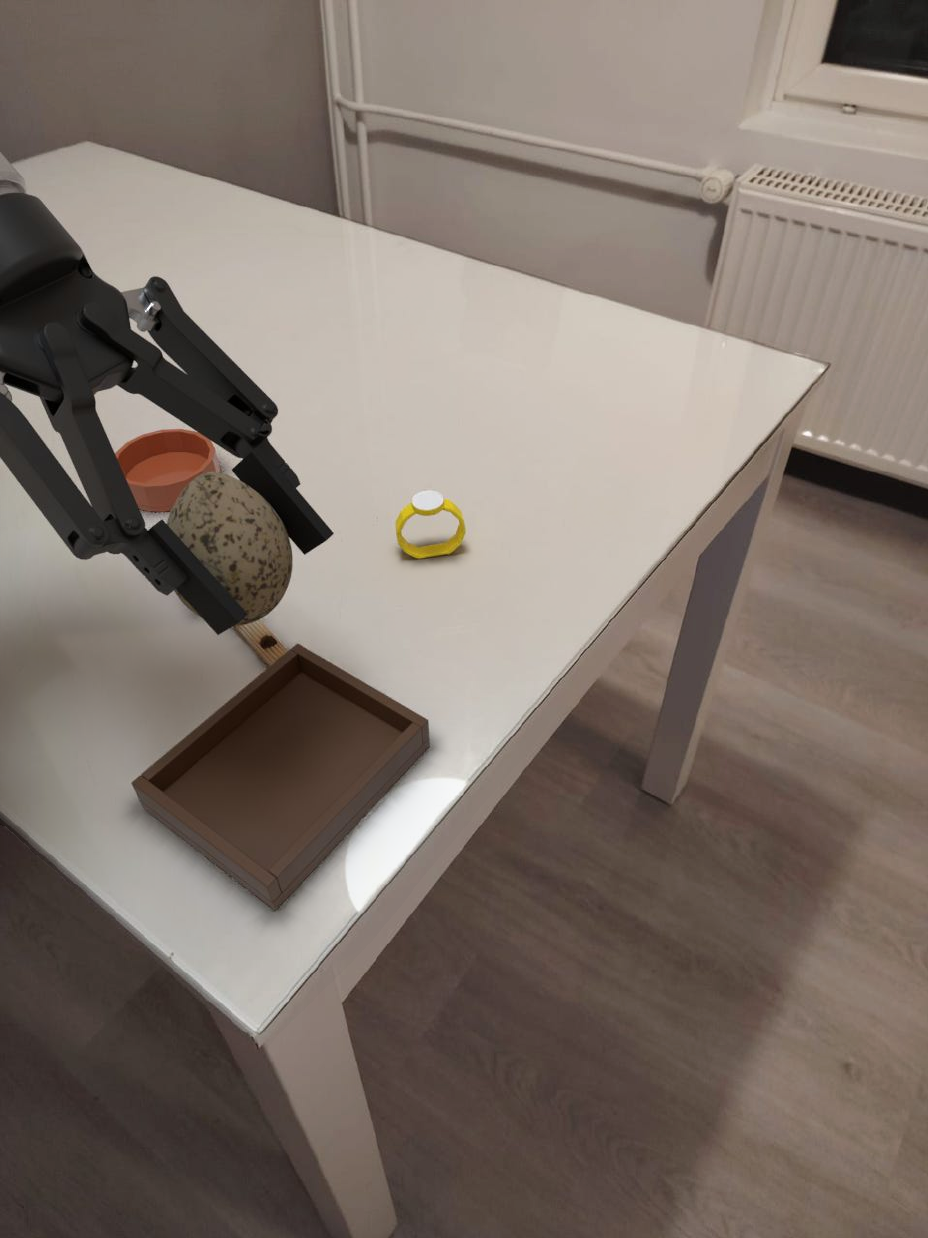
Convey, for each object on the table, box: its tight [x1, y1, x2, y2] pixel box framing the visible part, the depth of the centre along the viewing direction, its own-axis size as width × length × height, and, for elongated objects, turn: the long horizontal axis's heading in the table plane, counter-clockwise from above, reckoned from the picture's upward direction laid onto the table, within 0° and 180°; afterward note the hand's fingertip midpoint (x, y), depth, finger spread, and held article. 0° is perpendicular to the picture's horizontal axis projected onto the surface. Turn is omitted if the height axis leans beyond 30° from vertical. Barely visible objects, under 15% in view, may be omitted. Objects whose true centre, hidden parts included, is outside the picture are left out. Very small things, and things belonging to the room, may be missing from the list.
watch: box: [395, 489, 467, 560], centre depth 75 cm, size 6×3×6 cm, turn 100°
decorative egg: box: [166, 472, 294, 627], centre depth 50 cm, size 7×7×10 cm
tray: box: [131, 643, 431, 911], centre depth 60 cm, size 16×13×3 cm
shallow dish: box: [114, 428, 221, 513], centre depth 84 cm, size 10×10×3 cm
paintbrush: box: [234, 619, 289, 667], centre depth 72 cm, size 4×3×20 cm
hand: (277, 582), depth 49 cm, fingers closed on decorative egg, 7 cm apart
